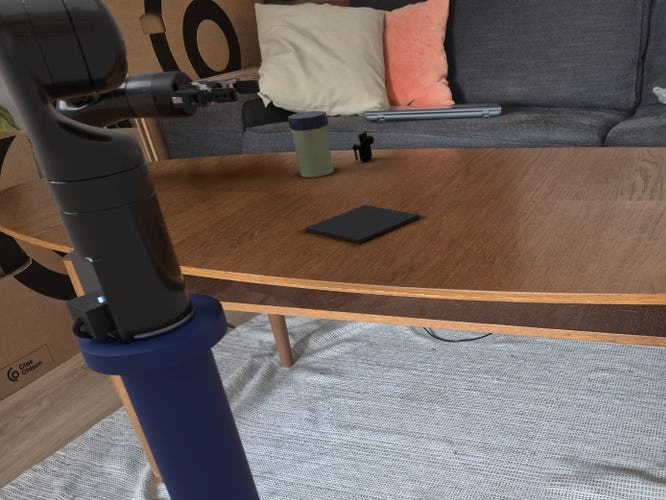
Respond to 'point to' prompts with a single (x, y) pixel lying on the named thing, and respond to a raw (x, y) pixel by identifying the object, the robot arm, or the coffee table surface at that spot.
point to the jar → (313, 152)
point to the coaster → (362, 223)
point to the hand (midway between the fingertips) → (247, 90)
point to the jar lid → (308, 120)
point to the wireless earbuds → (364, 147)
